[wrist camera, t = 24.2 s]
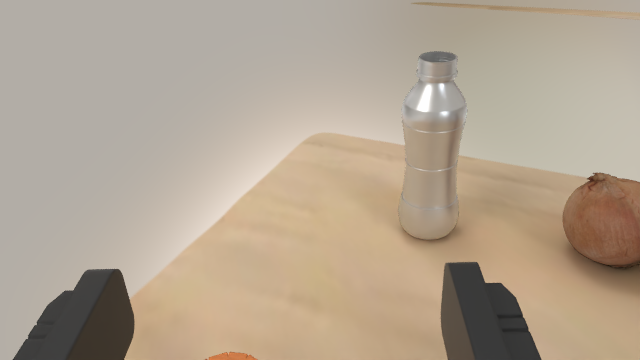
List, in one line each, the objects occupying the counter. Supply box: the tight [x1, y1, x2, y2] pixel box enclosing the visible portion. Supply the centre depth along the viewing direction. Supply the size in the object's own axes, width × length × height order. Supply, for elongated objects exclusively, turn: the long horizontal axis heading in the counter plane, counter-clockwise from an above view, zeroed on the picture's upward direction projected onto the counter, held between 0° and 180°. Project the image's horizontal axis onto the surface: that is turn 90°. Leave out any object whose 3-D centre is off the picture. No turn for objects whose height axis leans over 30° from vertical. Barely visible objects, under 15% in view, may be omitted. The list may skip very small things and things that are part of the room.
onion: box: [563, 173, 640, 268], centre depth 56 cm, size 10×9×10 cm
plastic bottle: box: [398, 51, 467, 240], centre depth 59 cm, size 6×7×20 cm
